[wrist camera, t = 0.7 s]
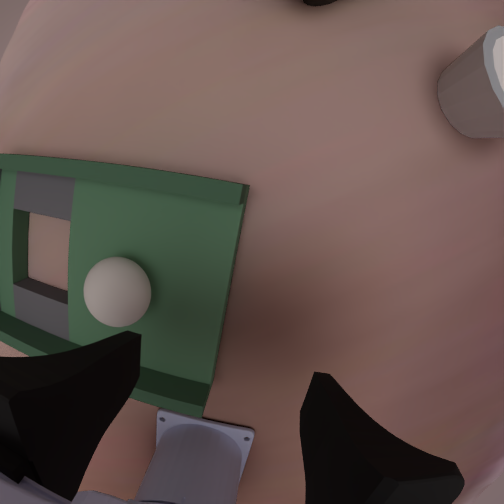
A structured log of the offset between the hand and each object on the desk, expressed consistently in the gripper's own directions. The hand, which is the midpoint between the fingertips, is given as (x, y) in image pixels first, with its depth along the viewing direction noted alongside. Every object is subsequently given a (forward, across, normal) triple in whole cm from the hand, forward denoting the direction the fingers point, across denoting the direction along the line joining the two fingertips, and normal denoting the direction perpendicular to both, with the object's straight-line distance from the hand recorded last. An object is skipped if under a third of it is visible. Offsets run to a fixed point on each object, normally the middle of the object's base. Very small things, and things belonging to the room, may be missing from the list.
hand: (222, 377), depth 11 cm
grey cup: (+10, -13, -17) cm, 23 cm away
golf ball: (+5, +7, 0) cm, 9 cm away
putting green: (+9, +11, -1) cm, 15 cm away
